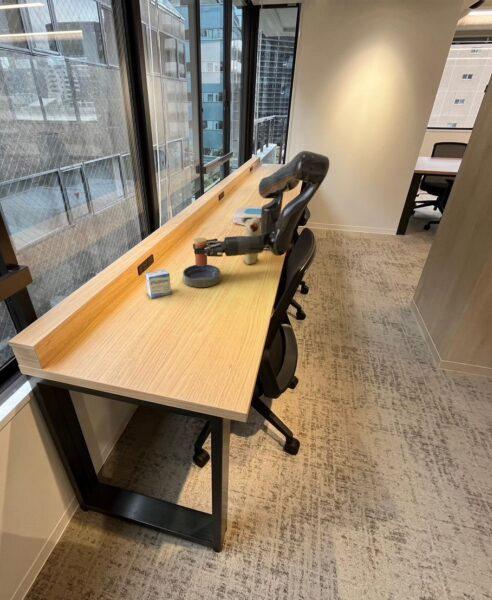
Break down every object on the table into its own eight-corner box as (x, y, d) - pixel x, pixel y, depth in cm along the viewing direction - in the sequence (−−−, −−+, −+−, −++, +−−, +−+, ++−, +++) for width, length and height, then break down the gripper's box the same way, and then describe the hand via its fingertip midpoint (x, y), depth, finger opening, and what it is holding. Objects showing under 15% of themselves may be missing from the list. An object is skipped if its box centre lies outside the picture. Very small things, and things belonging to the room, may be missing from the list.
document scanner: (280, 228, 190) (281, 217, 187) (232, 225, 195) (233, 214, 192) (282, 217, 208) (283, 207, 205) (239, 215, 213) (239, 205, 210)
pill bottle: (194, 262, 131) (193, 238, 126) (206, 261, 132) (205, 237, 127) (196, 266, 127) (194, 242, 122) (208, 265, 128) (207, 241, 123)
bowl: (182, 273, 138) (181, 265, 137) (217, 270, 141) (217, 263, 139) (184, 289, 126) (184, 281, 124) (223, 286, 128) (223, 278, 126)
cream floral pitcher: (254, 267, 144) (257, 222, 134) (240, 264, 146) (241, 220, 136) (261, 258, 151) (263, 215, 141) (247, 256, 154) (249, 214, 143)
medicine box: (151, 299, 120) (148, 277, 115) (147, 293, 123) (144, 272, 119) (171, 294, 123) (169, 273, 118) (167, 289, 126) (165, 268, 122)
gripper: (233, 230, 133) (191, 233, 130) (241, 243, 120) (194, 246, 118) (233, 248, 136) (192, 251, 134) (240, 261, 124) (196, 265, 122)
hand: (193, 248), depth 126 cm, fingers closed on pill bottle, 4 cm apart
